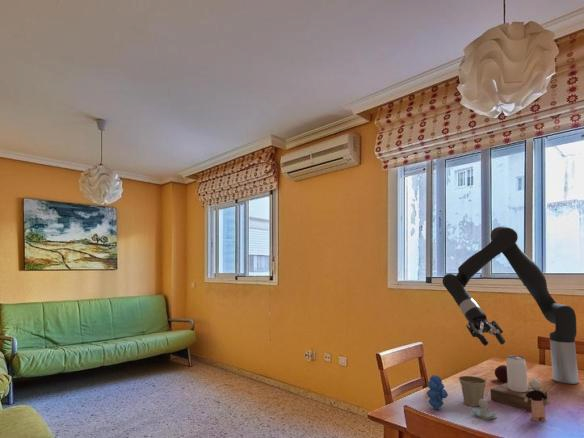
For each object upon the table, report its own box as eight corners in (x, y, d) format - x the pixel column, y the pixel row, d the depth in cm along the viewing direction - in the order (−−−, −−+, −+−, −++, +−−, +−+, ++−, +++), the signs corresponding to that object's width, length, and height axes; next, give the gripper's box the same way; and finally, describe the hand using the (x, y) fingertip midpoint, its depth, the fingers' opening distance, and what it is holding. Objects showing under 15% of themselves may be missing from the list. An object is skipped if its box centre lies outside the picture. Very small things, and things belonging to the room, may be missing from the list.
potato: (514, 380, 170) (513, 364, 171) (513, 385, 163) (512, 368, 164) (496, 377, 174) (495, 361, 175) (494, 382, 167) (493, 365, 168)
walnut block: (508, 392, 153) (507, 382, 153) (547, 402, 142) (546, 391, 142) (491, 400, 145) (490, 389, 145) (531, 411, 134) (530, 399, 134)
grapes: (443, 417, 128) (441, 380, 129) (423, 412, 132) (422, 376, 134) (454, 408, 137) (453, 373, 138) (435, 403, 141) (434, 369, 142)
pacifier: (476, 412, 133) (470, 417, 129) (475, 393, 134) (469, 397, 130) (499, 418, 128) (494, 423, 124) (498, 398, 129) (493, 402, 125)
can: (530, 393, 140) (528, 359, 142) (511, 392, 141) (509, 358, 143) (524, 388, 146) (521, 355, 148) (505, 386, 148) (503, 354, 149)
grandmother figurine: (544, 416, 129) (541, 377, 130) (552, 421, 125) (549, 381, 126) (522, 417, 129) (519, 377, 130) (529, 421, 125) (527, 381, 126)
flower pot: (486, 401, 144) (484, 377, 145) (489, 410, 135) (488, 384, 136) (458, 398, 147) (457, 374, 148) (460, 406, 138) (459, 381, 139)
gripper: (463, 306, 163) (485, 339, 151) (489, 305, 167) (514, 337, 155) (454, 317, 167) (476, 350, 155) (481, 316, 171) (504, 348, 159)
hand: (495, 343), depth 155 cm, fingers open, 8 cm apart
